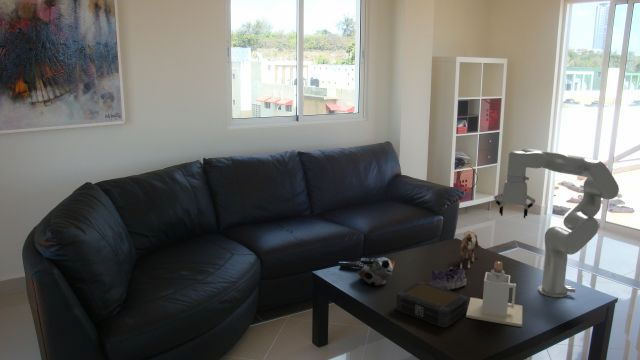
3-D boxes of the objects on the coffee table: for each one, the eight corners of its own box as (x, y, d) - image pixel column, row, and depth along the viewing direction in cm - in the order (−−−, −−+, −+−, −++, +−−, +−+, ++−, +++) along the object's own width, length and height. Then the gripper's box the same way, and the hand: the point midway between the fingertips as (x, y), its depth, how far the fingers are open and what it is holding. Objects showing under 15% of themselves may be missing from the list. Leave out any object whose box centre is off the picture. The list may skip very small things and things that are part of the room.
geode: (441, 296, 235) (440, 275, 233) (424, 290, 244) (422, 270, 243) (471, 285, 245) (470, 265, 244) (453, 280, 255) (452, 260, 254)
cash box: (393, 310, 221) (394, 293, 220) (419, 295, 236) (419, 280, 234) (444, 329, 205) (445, 312, 203) (468, 312, 219) (469, 296, 217)
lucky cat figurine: (369, 272, 262) (385, 248, 258) (388, 289, 254) (404, 264, 251) (351, 272, 249) (367, 247, 245) (370, 290, 241) (387, 264, 238)
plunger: (505, 305, 220) (509, 260, 216) (504, 313, 213) (508, 267, 209) (486, 302, 223) (489, 258, 219) (484, 310, 216) (488, 264, 212)
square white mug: (522, 308, 223) (525, 274, 219) (521, 326, 206) (525, 290, 203) (470, 299, 231) (472, 266, 227) (466, 317, 214) (468, 282, 211)
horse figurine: (469, 275, 258) (472, 236, 254) (454, 272, 262) (456, 234, 258) (481, 256, 285) (483, 221, 281) (467, 253, 289) (469, 219, 285)
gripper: (537, 178, 224) (533, 216, 227) (495, 175, 230) (493, 212, 234) (537, 182, 217) (533, 220, 221) (494, 179, 223) (492, 216, 227)
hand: (512, 216), depth 227 cm, fingers open, 9 cm apart
